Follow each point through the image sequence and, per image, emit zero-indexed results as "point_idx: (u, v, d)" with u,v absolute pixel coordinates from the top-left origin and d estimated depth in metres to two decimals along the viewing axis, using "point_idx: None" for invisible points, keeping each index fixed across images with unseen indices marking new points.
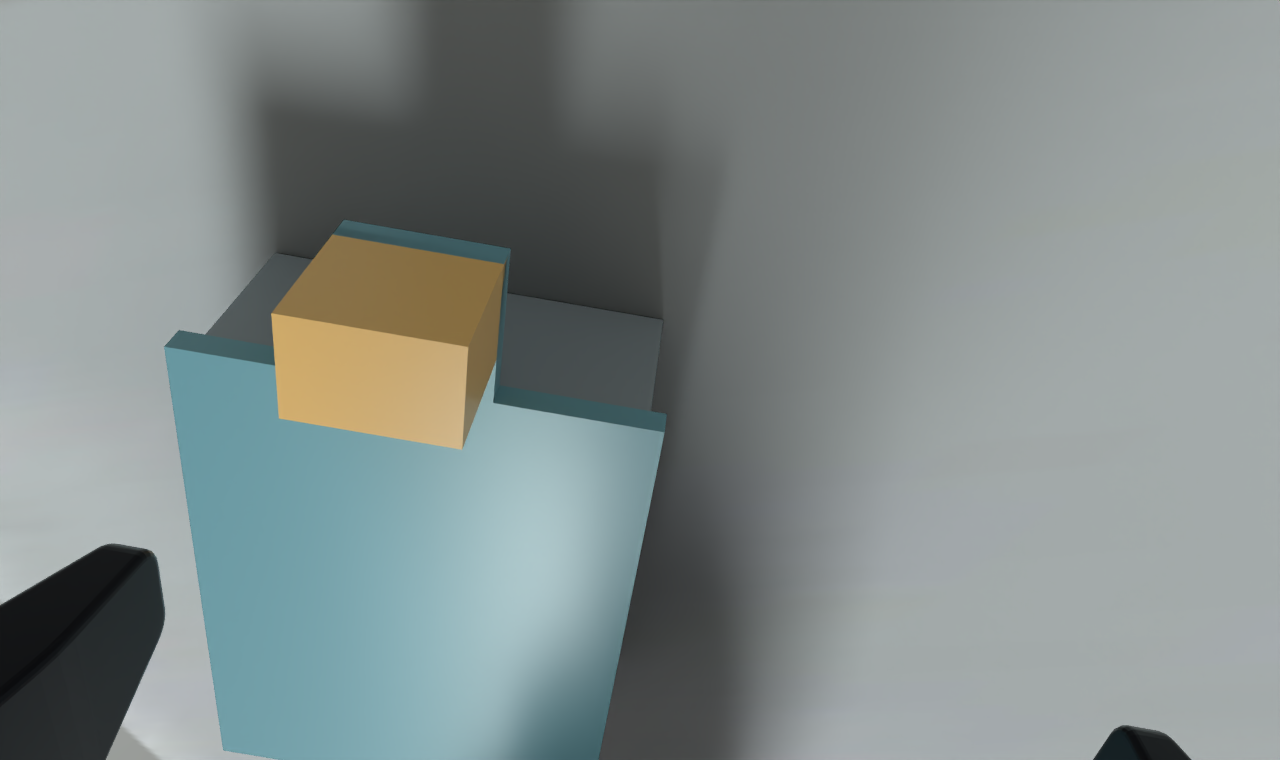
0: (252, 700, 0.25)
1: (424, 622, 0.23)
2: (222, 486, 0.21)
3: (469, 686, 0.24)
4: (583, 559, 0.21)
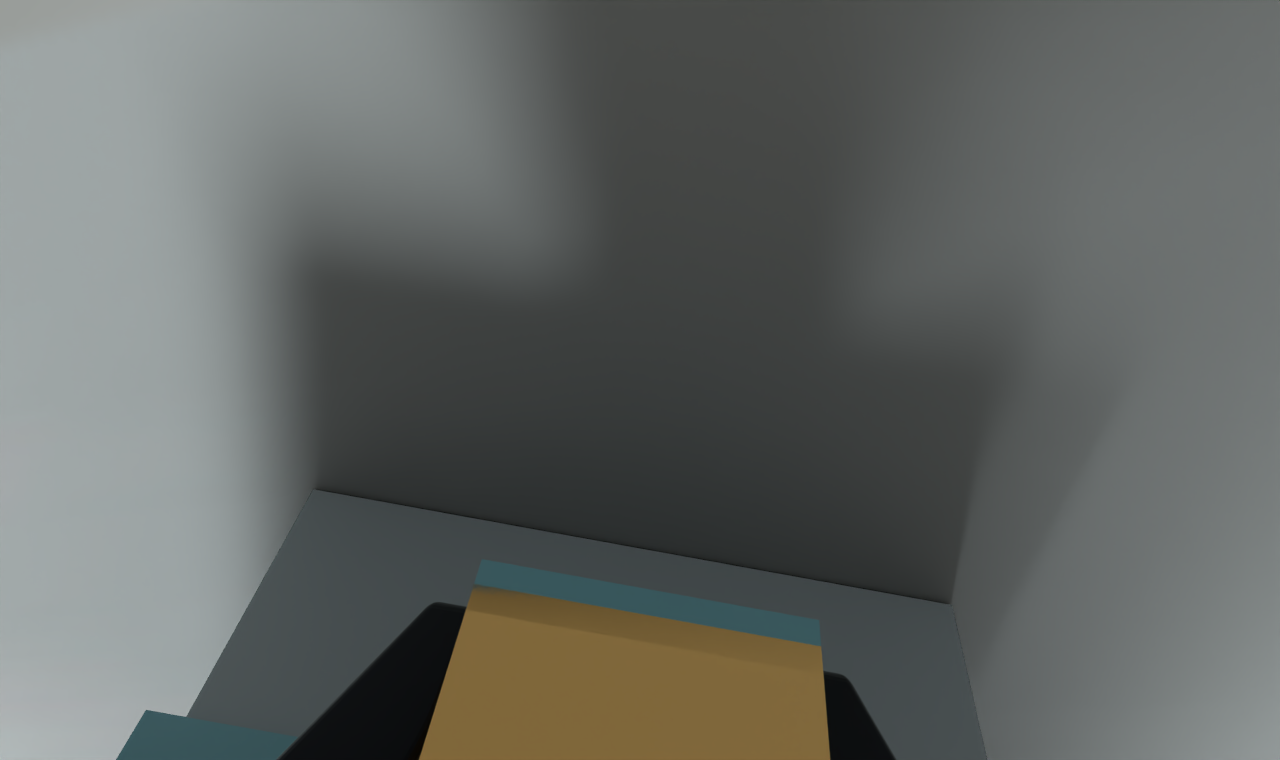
0: None
1: None
2: None
3: None
4: None
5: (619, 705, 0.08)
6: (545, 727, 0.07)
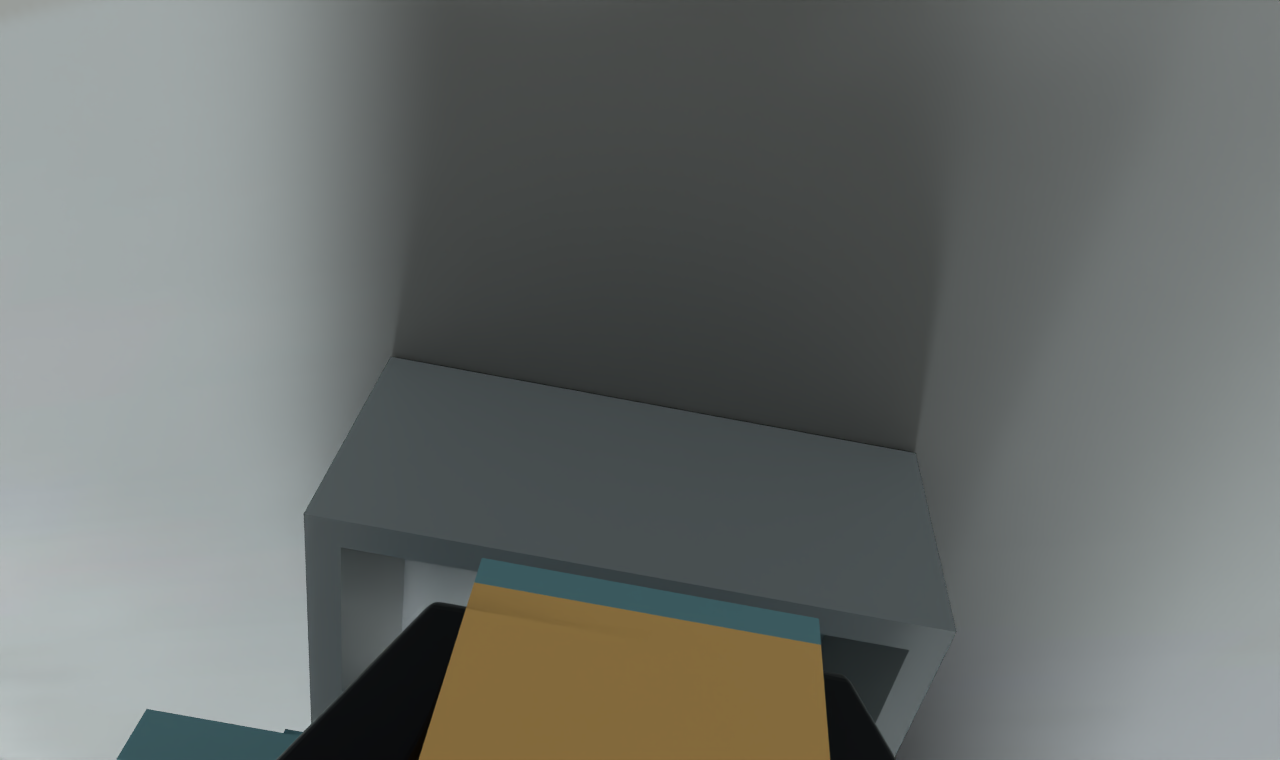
0: None
1: None
2: None
3: None
4: None
5: (619, 703, 0.08)
6: (545, 725, 0.07)
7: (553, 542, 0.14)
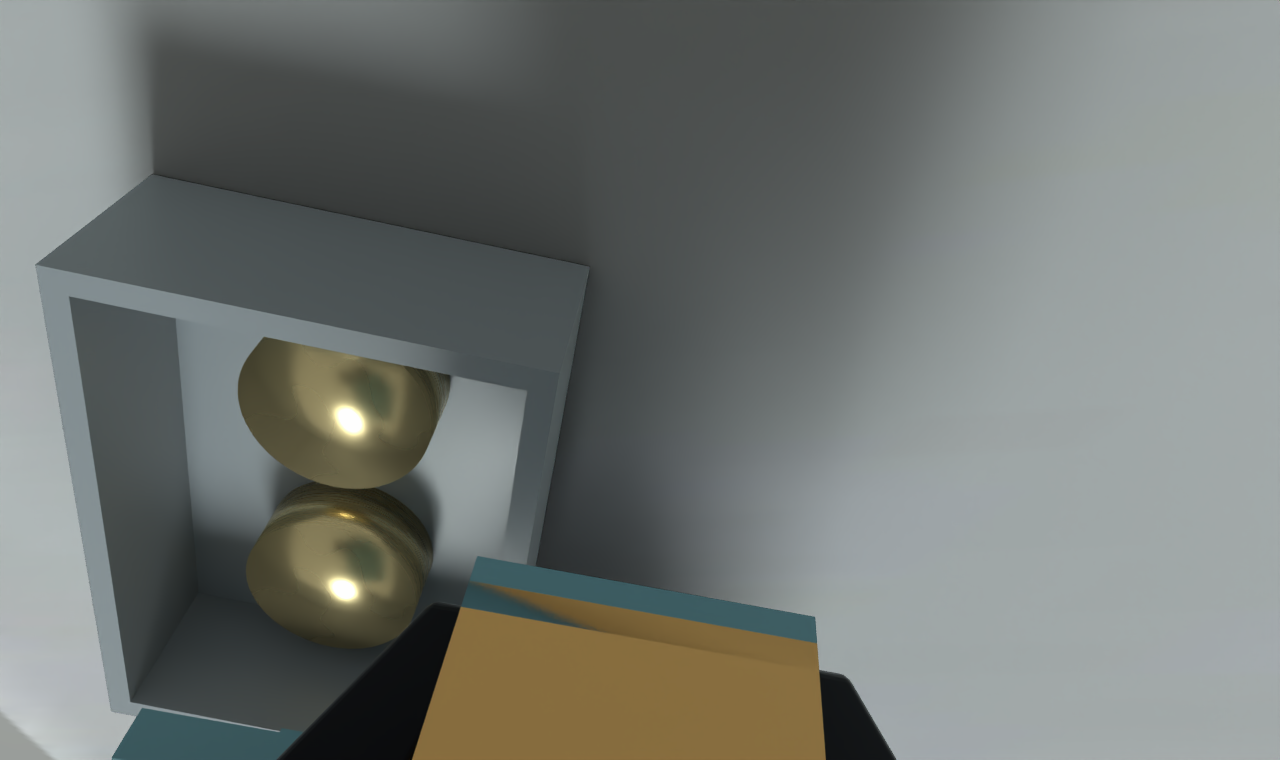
0: None
1: None
2: None
3: None
4: None
5: (614, 702, 0.08)
6: (540, 724, 0.07)
7: (241, 296, 0.17)
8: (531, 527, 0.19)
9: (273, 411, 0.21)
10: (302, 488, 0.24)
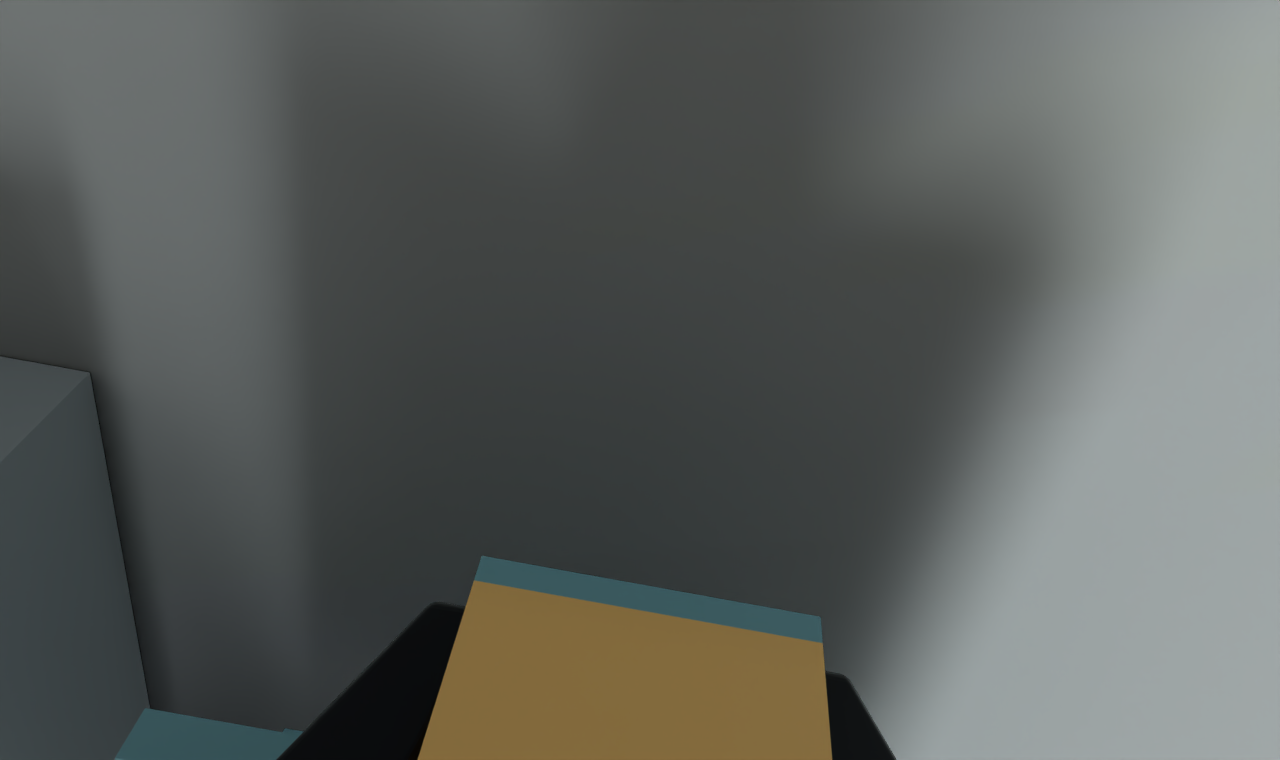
0: None
1: None
2: None
3: None
4: None
5: (620, 702, 0.08)
6: (545, 724, 0.07)
7: None
8: None
9: None
10: None
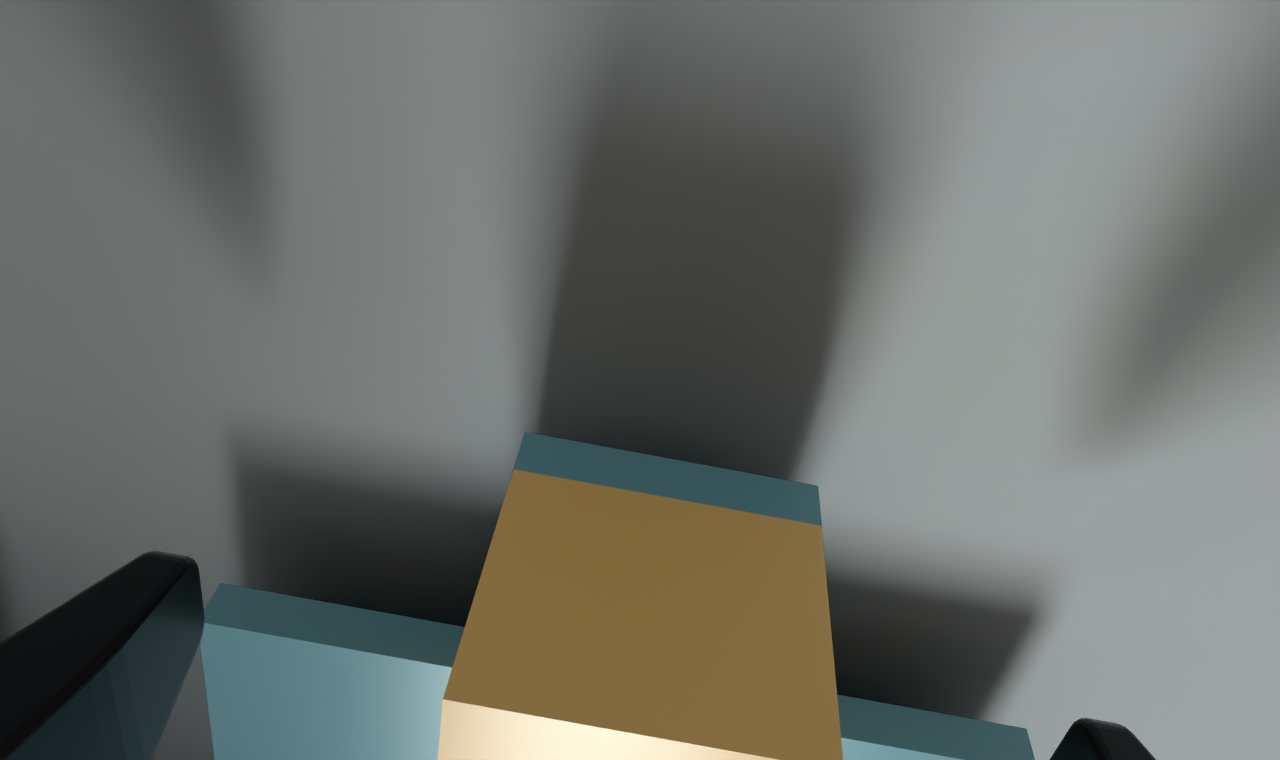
0: None
1: None
2: None
3: None
4: None
5: (647, 542, 0.09)
6: (585, 556, 0.09)
7: None
8: None
9: None
10: None
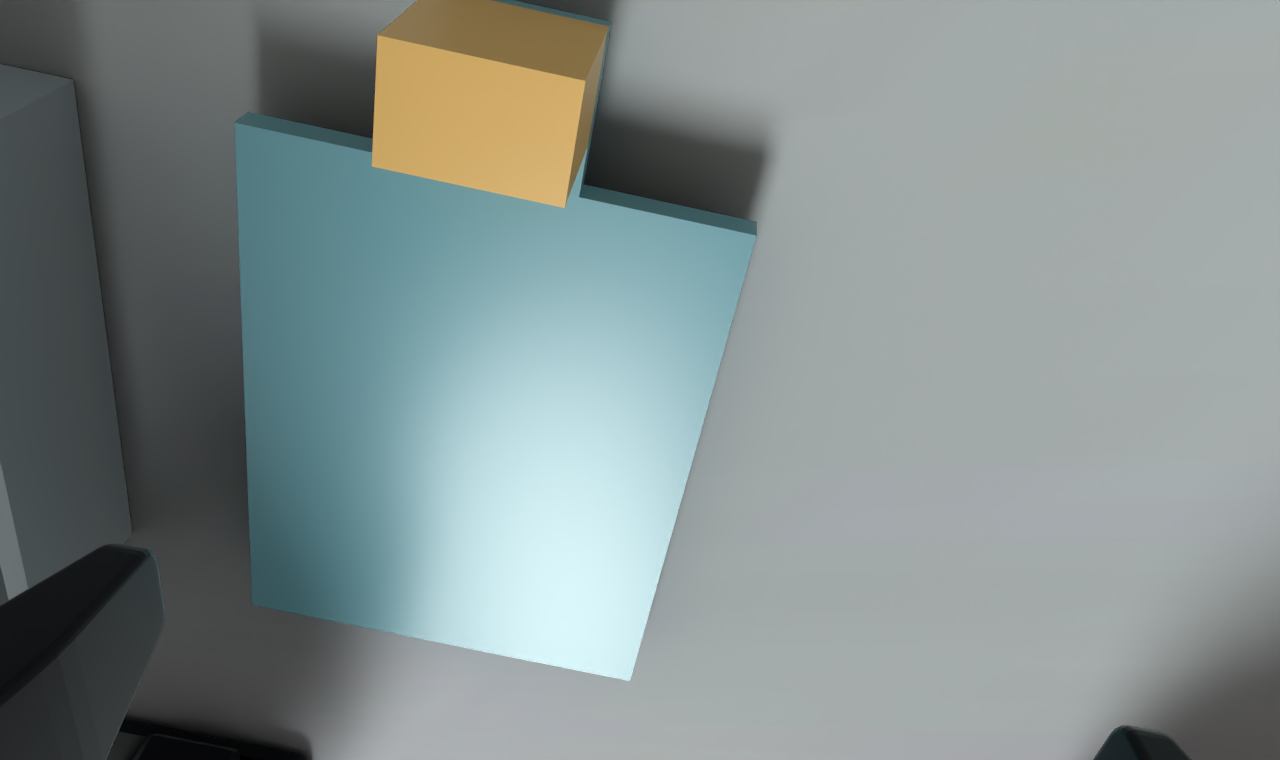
0: (288, 546, 0.24)
1: (480, 456, 0.22)
2: (280, 291, 0.20)
3: (520, 532, 0.23)
4: (655, 384, 0.20)
5: (500, 19, 0.16)
6: (463, 17, 0.16)
7: None
8: None
9: None
10: None
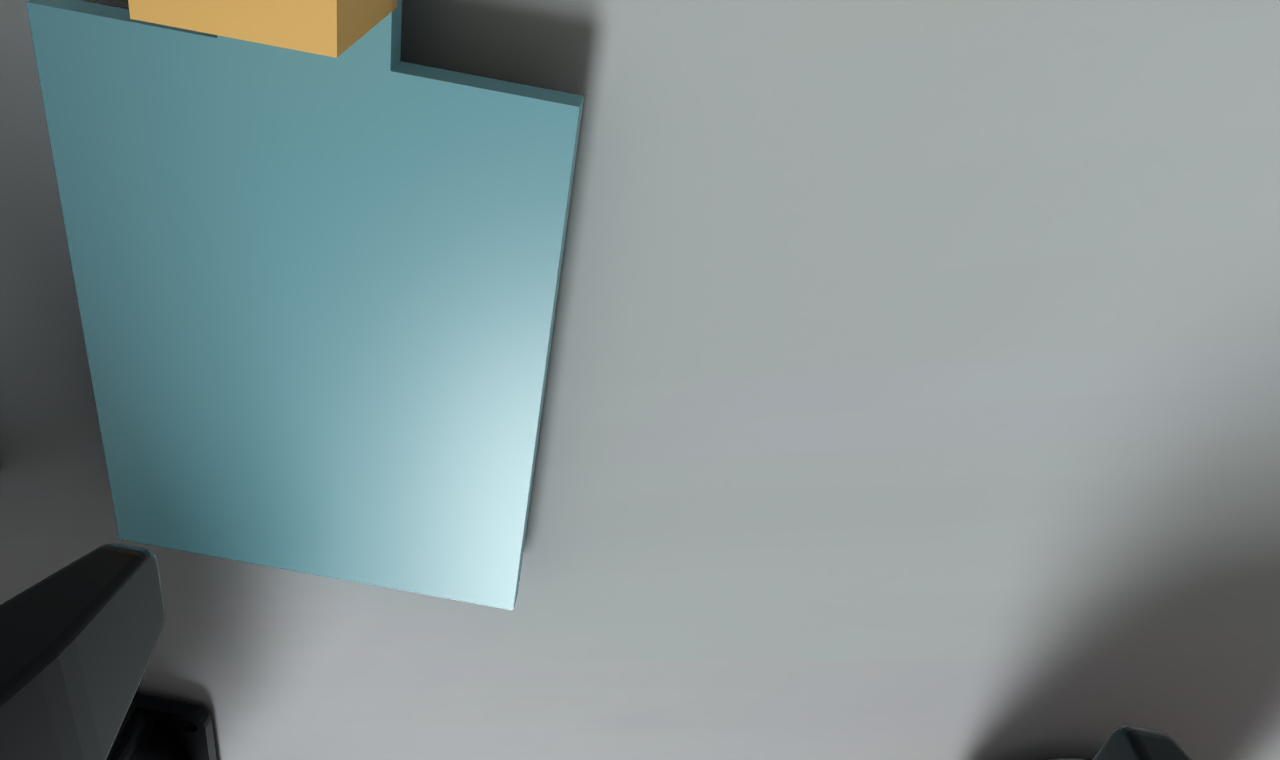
0: (146, 473, 0.23)
1: (327, 366, 0.21)
2: (99, 190, 0.19)
3: (379, 450, 0.22)
4: (496, 279, 0.19)
5: None
6: None
7: None
8: None
9: None
10: None
